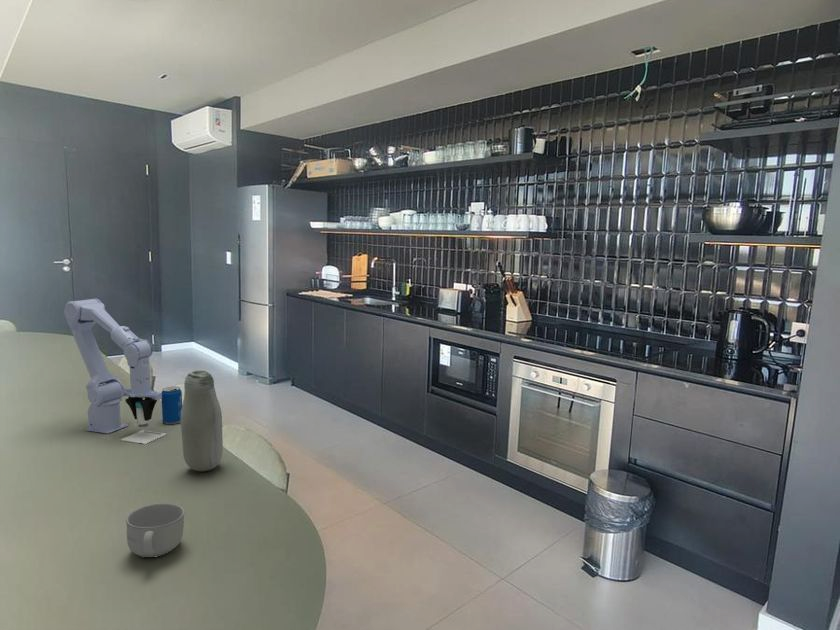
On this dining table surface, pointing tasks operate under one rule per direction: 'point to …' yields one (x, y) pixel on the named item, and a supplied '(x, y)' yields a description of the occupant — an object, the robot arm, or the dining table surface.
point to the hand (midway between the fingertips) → (143, 419)
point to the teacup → (155, 529)
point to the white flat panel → (143, 437)
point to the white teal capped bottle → (140, 415)
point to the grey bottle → (201, 422)
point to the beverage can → (171, 404)
